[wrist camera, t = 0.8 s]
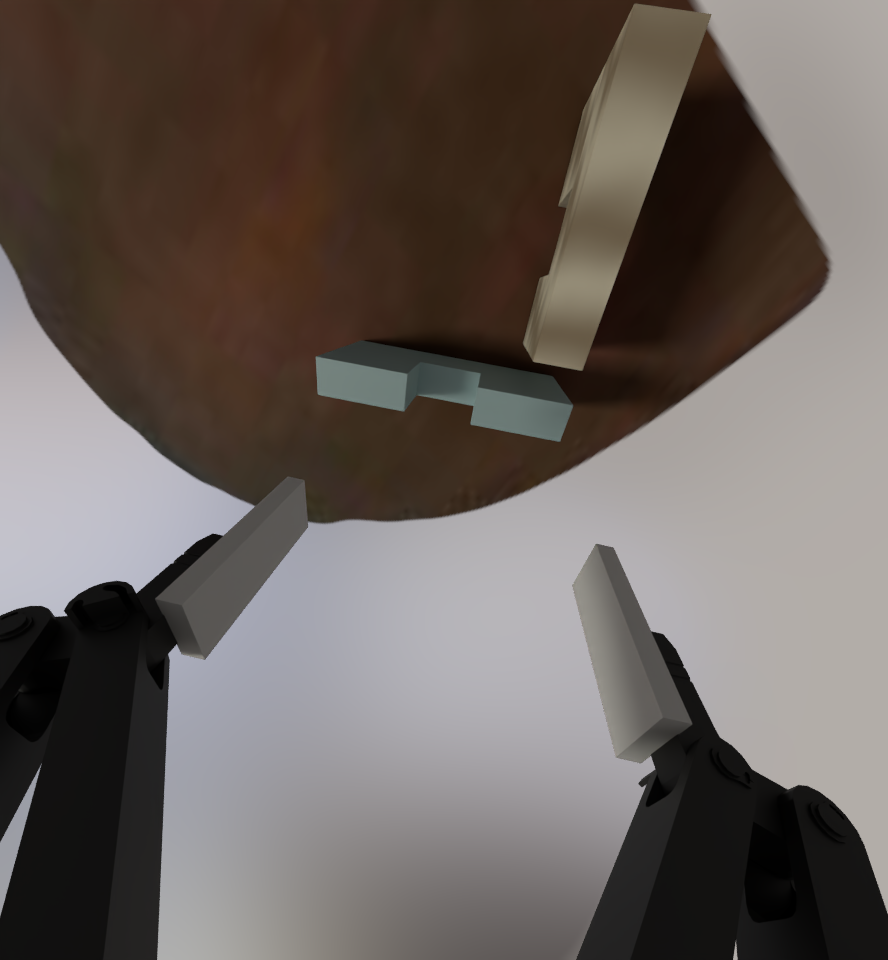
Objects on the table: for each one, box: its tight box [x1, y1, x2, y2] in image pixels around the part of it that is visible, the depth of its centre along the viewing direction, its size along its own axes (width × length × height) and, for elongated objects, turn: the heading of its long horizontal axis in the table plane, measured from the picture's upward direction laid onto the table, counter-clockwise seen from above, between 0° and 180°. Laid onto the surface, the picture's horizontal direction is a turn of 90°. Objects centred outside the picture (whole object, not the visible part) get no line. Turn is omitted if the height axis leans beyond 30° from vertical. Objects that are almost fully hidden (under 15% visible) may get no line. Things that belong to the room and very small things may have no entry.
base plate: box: [316, 341, 573, 442], centre depth 30 cm, size 20×3×10 cm, turn 81°
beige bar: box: [523, 4, 711, 371], centre depth 23 cm, size 16×4×10 cm, turn 171°
